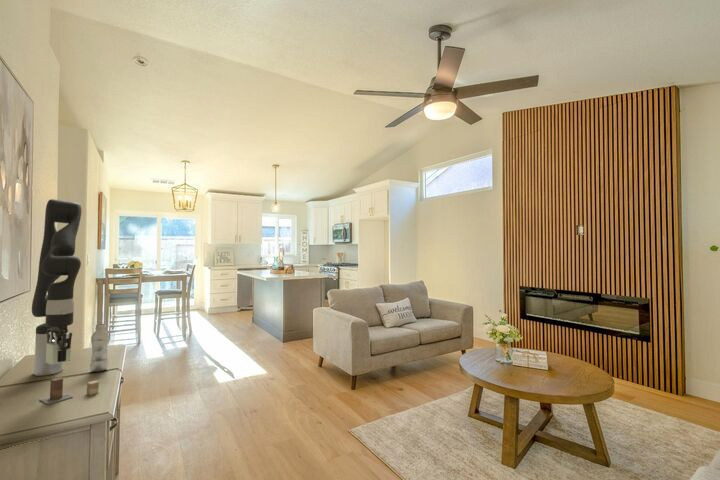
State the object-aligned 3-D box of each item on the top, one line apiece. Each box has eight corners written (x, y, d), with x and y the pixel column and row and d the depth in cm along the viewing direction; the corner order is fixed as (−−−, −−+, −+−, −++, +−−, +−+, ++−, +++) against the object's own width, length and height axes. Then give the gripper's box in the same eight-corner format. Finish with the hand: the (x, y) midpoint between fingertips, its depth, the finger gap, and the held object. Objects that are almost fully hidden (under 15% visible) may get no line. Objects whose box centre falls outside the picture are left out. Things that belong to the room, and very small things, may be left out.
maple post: (86, 393, 128) (87, 382, 128) (94, 391, 130) (95, 380, 130) (90, 395, 126) (90, 384, 126) (98, 392, 129) (98, 381, 129)
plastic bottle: (98, 374, 148) (100, 326, 149) (85, 372, 149) (87, 325, 150) (112, 369, 154) (113, 323, 155) (99, 367, 156) (101, 322, 156)
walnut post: (39, 400, 121) (40, 380, 122) (63, 393, 128) (64, 374, 128) (47, 405, 118) (48, 384, 118) (72, 397, 124) (73, 377, 124)
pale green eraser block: (45, 362, 122) (46, 343, 123) (63, 358, 127) (64, 340, 127) (52, 364, 120) (52, 345, 120) (70, 360, 124) (71, 342, 125)
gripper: (37, 311, 124) (35, 359, 124) (55, 315, 117) (53, 366, 116) (63, 308, 131) (62, 354, 130) (82, 312, 124) (80, 360, 123)
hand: (58, 359), depth 123 cm, fingers closed on pale green eraser block, 5 cm apart
